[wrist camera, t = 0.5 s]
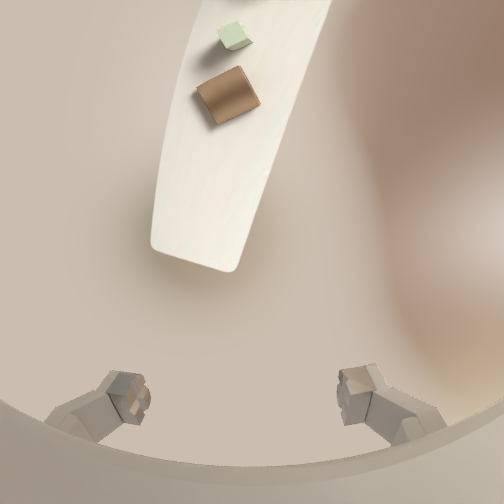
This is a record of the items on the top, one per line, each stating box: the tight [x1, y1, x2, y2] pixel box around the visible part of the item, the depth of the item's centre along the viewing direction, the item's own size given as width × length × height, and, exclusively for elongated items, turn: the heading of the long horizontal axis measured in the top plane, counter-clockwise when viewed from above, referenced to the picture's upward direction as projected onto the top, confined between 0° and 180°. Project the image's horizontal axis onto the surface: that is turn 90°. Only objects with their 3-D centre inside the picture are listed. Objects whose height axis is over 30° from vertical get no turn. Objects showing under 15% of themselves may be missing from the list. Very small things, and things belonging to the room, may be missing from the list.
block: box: [215, 20, 253, 51], centre depth 36 cm, size 4×4×8 cm
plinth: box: [196, 66, 261, 125], centre depth 46 cm, size 9×9×3 cm
